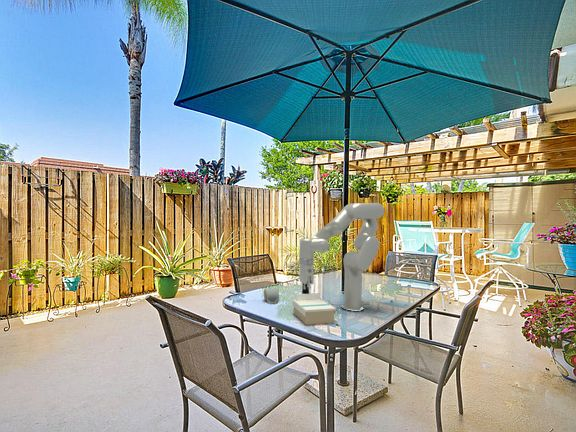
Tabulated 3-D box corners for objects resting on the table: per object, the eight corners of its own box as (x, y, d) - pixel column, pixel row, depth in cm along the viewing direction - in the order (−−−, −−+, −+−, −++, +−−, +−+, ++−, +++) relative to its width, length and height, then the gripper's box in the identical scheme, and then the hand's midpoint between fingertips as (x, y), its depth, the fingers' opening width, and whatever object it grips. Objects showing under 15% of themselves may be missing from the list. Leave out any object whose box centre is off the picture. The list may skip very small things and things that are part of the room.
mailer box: (318, 312, 161) (319, 300, 161) (333, 323, 144) (334, 310, 144) (293, 313, 157) (294, 301, 157) (306, 325, 139) (306, 312, 139)
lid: (320, 304, 161) (320, 292, 161) (335, 314, 143) (336, 301, 144) (292, 305, 157) (292, 293, 157) (305, 316, 139) (305, 303, 139)
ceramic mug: (263, 299, 183) (263, 286, 183) (276, 299, 184) (277, 286, 184) (266, 304, 172) (266, 291, 172) (280, 304, 174) (280, 290, 174)
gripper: (318, 263, 155) (317, 300, 155) (308, 259, 169) (307, 293, 169) (304, 263, 153) (303, 300, 153) (295, 260, 167) (294, 293, 167)
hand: (305, 296), depth 161 cm, fingers closed
